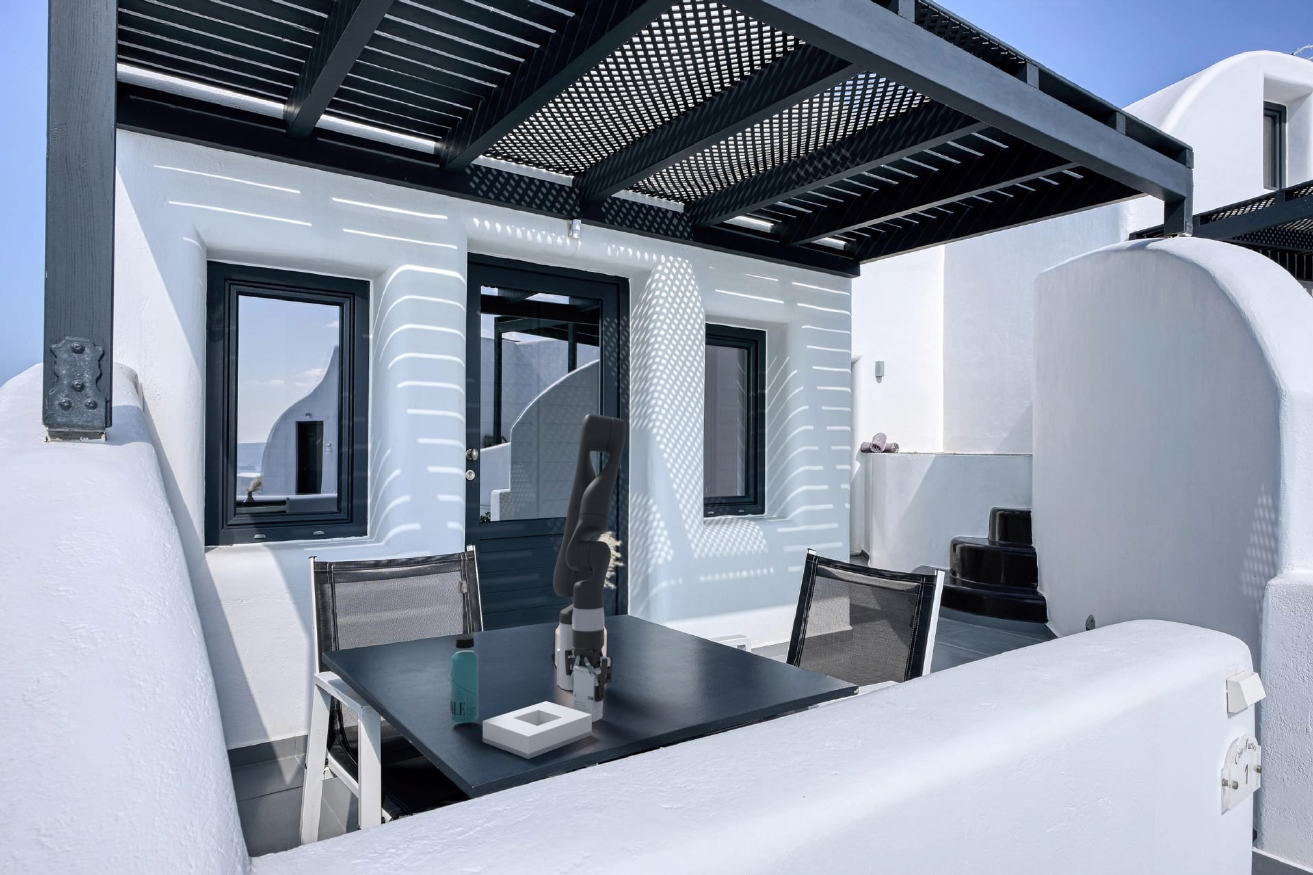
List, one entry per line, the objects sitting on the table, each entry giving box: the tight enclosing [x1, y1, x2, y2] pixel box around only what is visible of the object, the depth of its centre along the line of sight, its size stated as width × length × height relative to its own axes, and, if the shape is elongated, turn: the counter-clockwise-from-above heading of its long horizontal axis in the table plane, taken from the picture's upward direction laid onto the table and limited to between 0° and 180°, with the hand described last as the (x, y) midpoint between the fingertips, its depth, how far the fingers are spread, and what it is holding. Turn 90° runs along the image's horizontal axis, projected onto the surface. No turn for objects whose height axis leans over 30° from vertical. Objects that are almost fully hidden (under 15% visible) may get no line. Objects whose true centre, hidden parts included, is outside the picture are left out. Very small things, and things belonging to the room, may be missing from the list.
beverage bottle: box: [449, 635, 480, 724], centre depth 180 cm, size 6×7×20 cm
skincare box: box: [572, 666, 604, 723], centre depth 184 cm, size 6×4×12 cm
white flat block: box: [482, 700, 593, 760], centre depth 171 cm, size 15×18×4 cm
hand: (588, 697), depth 184 cm, fingers closed on skincare box, 6 cm apart
